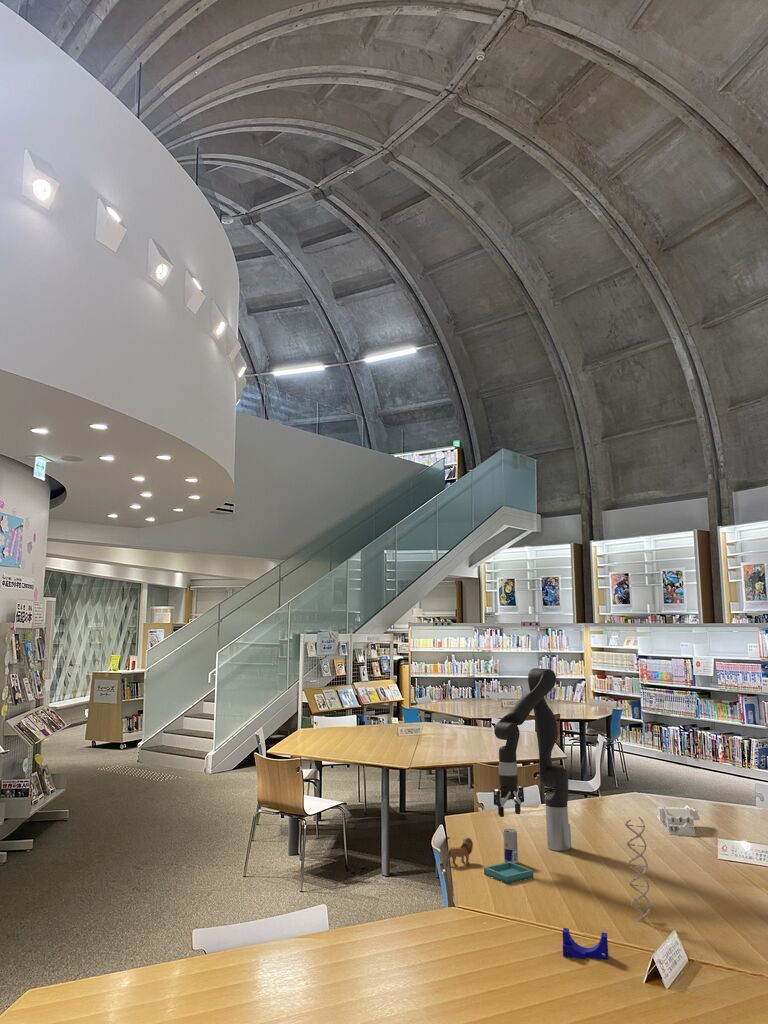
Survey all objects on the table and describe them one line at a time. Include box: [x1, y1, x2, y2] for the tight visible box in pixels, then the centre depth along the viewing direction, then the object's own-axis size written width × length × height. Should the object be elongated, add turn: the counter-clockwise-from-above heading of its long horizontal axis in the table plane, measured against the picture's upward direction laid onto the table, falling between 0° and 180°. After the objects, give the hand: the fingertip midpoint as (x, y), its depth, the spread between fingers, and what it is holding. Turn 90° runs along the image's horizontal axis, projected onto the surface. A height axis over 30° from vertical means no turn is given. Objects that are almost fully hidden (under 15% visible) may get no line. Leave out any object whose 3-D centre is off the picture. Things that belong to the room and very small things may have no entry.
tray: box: [483, 862, 534, 885], centre depth 265 cm, size 13×13×2 cm
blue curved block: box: [562, 927, 609, 961], centre depth 198 cm, size 12×4×6 cm, turn 71°
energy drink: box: [503, 828, 519, 864], centre depth 283 cm, size 5×5×12 cm
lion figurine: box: [444, 837, 474, 868], centre depth 281 cm, size 15×5×9 cm, turn 130°
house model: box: [656, 804, 701, 837], centre depth 328 cm, size 19×20×10 cm
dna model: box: [624, 816, 652, 921], centre depth 227 cm, size 7×6×30 cm
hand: (509, 815), depth 285 cm, fingers open, 8 cm apart
